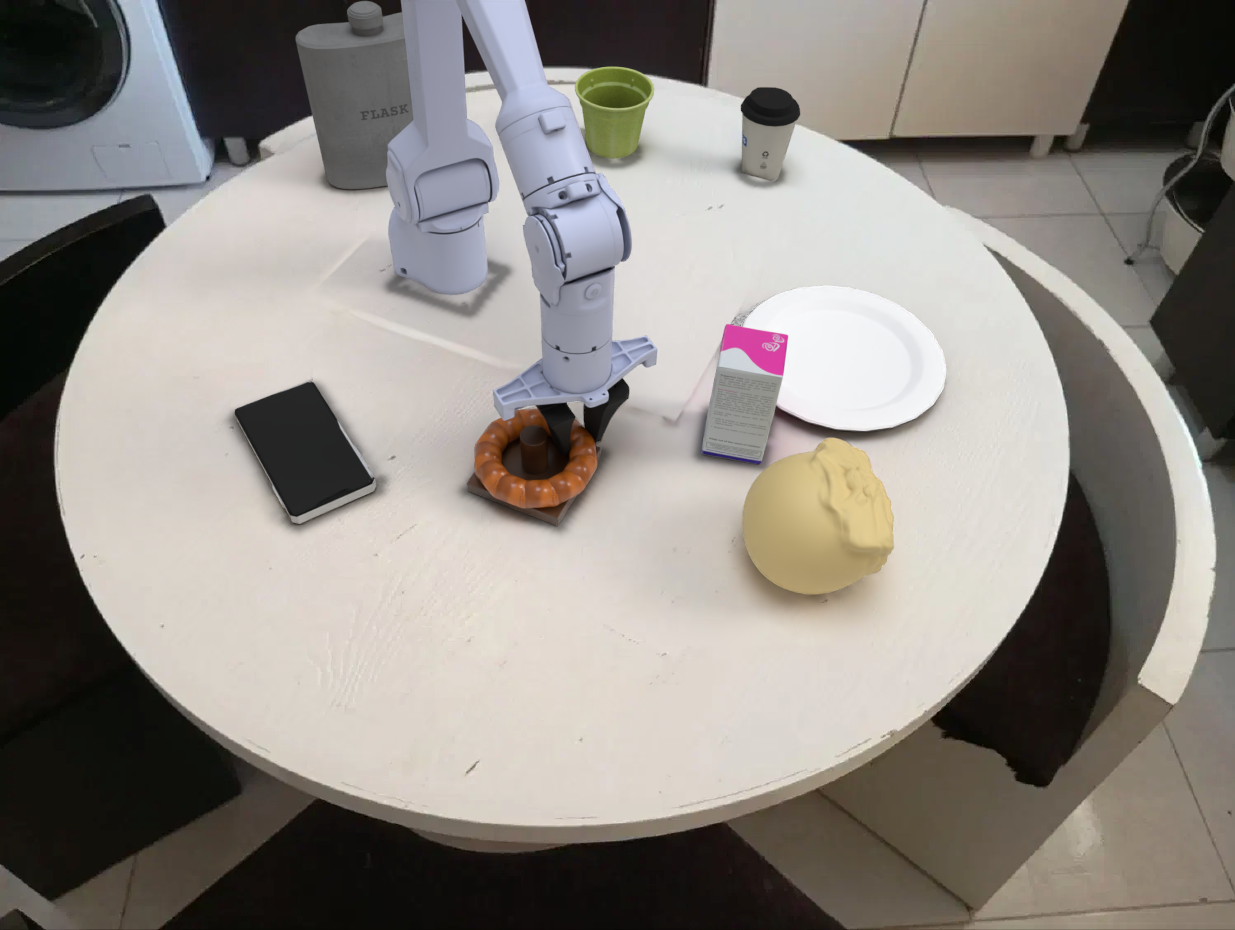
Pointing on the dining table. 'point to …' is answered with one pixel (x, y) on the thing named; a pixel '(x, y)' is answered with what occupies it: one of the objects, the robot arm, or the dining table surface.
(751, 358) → the supplement box
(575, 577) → the dining table surface
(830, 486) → the sculpture
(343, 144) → the flask
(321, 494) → the smartphone
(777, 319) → the plate
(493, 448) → the ring
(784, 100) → the coffee cup
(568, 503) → the stand
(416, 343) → the dining table surface
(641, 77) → the plant pot
